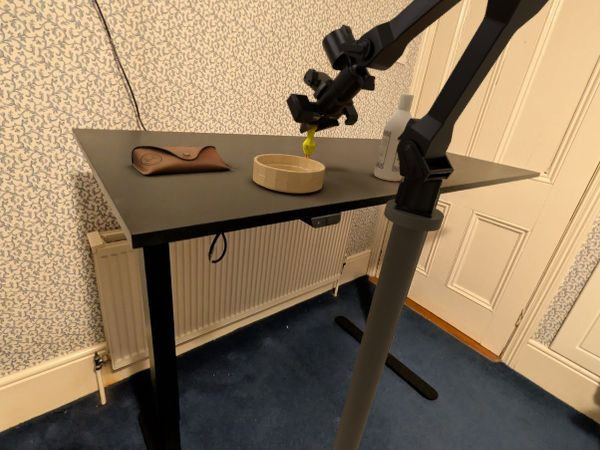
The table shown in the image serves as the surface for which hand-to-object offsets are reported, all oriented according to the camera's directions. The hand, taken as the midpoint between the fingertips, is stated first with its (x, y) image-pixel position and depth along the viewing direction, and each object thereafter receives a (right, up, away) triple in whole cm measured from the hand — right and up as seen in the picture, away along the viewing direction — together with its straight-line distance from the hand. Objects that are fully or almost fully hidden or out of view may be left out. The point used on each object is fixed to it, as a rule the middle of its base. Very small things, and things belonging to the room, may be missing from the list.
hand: (305, 132), depth 81 cm
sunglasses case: (-25, -12, -14) cm, 31 cm away
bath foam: (+21, -11, +2) cm, 24 cm away
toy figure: (0, -7, +2) cm, 7 cm away
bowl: (-4, -15, -15) cm, 21 cm away
